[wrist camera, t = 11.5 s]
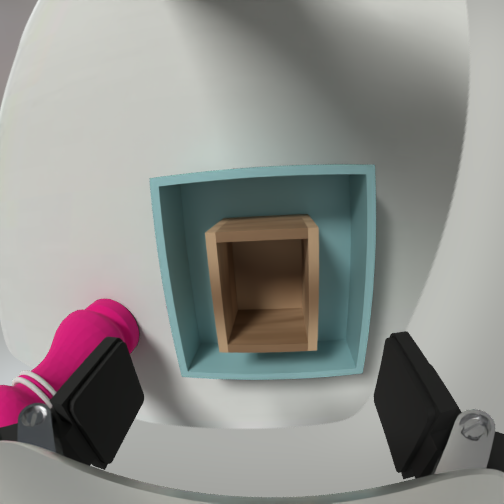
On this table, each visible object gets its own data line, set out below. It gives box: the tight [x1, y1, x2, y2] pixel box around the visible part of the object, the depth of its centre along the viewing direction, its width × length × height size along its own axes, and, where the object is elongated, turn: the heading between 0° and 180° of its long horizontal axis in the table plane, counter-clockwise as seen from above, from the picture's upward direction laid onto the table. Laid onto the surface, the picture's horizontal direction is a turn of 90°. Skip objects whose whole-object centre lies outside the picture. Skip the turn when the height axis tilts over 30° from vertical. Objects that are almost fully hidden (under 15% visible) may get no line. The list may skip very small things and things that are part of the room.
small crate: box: [205, 214, 319, 353], centre depth 20 cm, size 8×6×6 cm
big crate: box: [150, 164, 376, 380], centre depth 21 cm, size 15×14×5 cm
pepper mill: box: [0, 299, 139, 427], centre depth 17 cm, size 7×7×20 cm
